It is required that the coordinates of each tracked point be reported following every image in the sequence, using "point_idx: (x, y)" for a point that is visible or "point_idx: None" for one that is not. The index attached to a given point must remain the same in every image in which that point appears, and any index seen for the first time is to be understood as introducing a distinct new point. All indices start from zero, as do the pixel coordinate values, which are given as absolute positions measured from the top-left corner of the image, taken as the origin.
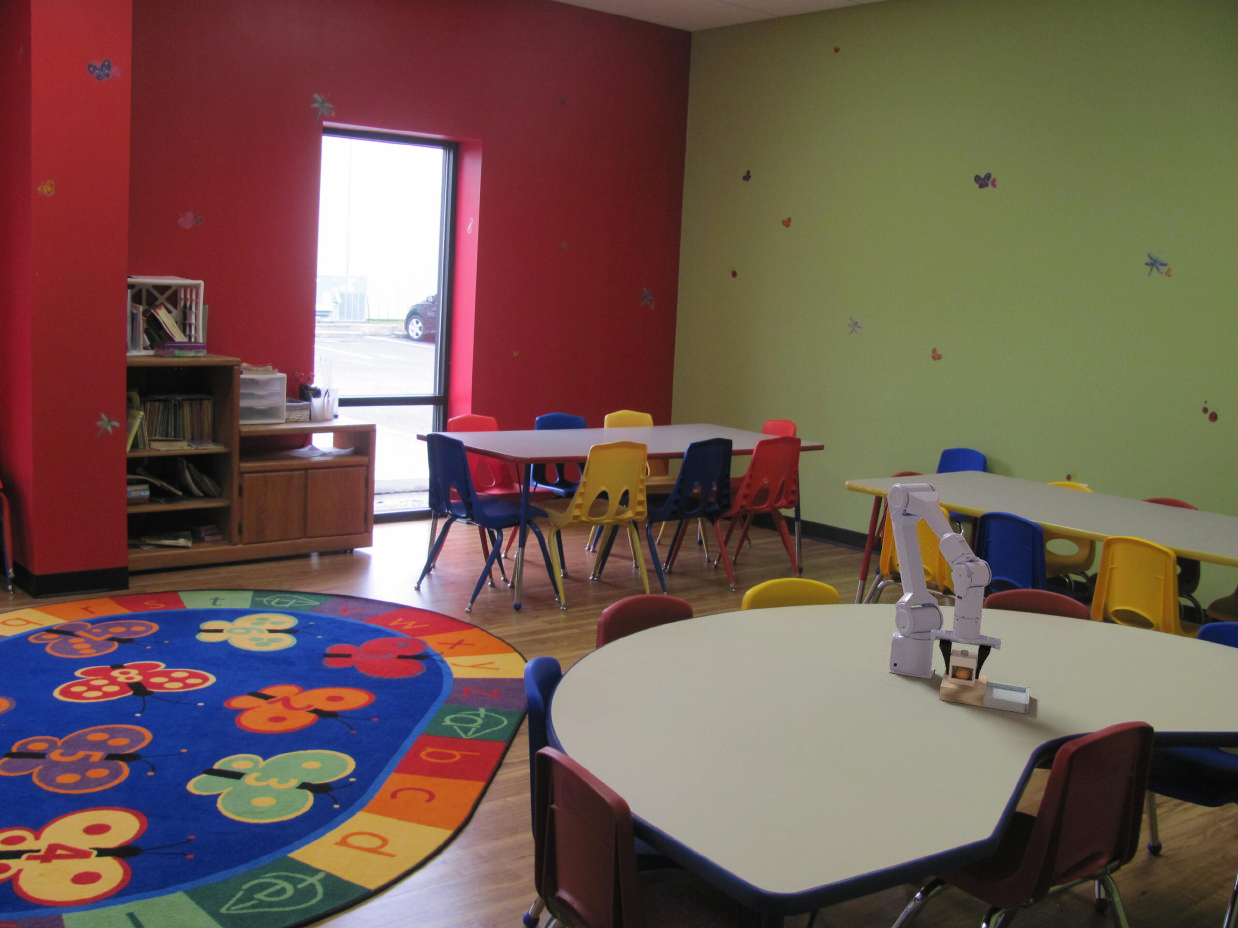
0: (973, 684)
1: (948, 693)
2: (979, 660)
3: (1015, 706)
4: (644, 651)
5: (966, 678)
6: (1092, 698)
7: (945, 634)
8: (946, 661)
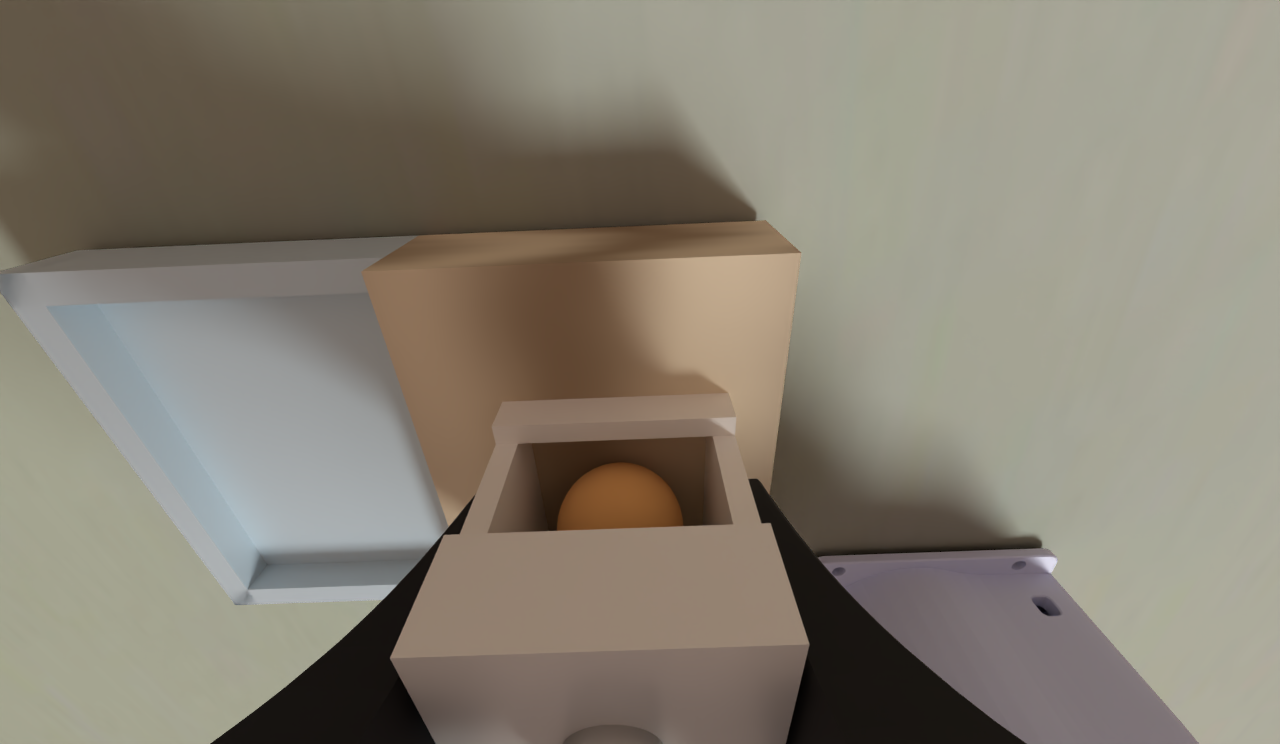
0: (503, 409)
1: (704, 240)
2: (376, 666)
3: (135, 256)
4: None
5: (578, 479)
6: (49, 648)
7: None
8: (812, 578)
